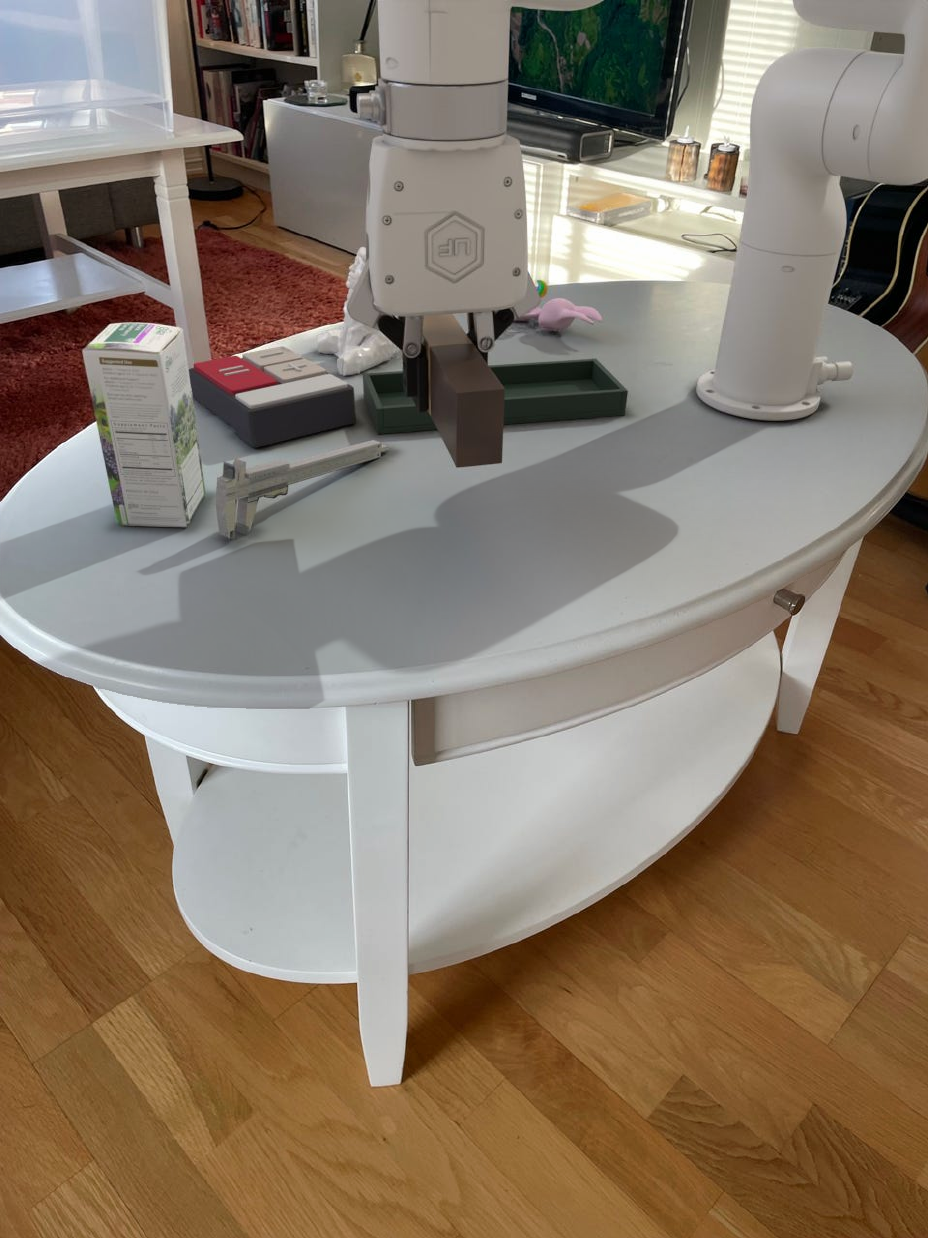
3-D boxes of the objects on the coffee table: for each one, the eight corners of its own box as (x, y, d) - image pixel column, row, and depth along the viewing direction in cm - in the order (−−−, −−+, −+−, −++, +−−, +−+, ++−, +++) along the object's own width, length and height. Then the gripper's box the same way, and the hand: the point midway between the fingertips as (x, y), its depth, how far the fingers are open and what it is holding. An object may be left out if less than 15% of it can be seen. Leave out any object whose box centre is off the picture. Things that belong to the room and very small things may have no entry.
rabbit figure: (490, 330, 118) (580, 342, 108) (486, 281, 115) (578, 288, 105) (524, 320, 121) (614, 331, 111) (522, 272, 119) (614, 278, 108)
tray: (593, 381, 101) (596, 358, 99) (625, 415, 94) (628, 390, 92) (363, 397, 96) (362, 373, 94) (377, 434, 89) (376, 408, 87)
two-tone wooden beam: (436, 352, 75) (436, 289, 72) (502, 463, 59) (505, 388, 56) (399, 355, 74) (397, 291, 71) (456, 468, 58) (456, 392, 56)
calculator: (284, 341, 98) (355, 379, 88) (289, 381, 101) (358, 422, 90) (185, 361, 93) (247, 403, 83) (192, 402, 95) (253, 448, 85)
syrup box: (139, 492, 78) (104, 320, 70) (209, 495, 78) (182, 322, 70) (116, 526, 73) (76, 346, 65) (191, 529, 73) (160, 349, 65)
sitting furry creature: (312, 349, 107) (304, 240, 100) (381, 339, 110) (378, 233, 103) (342, 377, 100) (335, 262, 93) (414, 366, 103) (414, 254, 96)
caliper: (230, 545, 72) (220, 471, 68) (220, 541, 72) (209, 467, 68) (390, 451, 86) (388, 386, 82) (380, 448, 86) (378, 383, 82)
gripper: (314, 127, 51) (337, 435, 62) (594, 119, 54) (570, 413, 65) (301, 107, 57) (324, 392, 68) (555, 101, 60) (539, 374, 71)
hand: (445, 400), depth 66 cm, fingers closed on two-tone wooden beam, 3 cm apart
